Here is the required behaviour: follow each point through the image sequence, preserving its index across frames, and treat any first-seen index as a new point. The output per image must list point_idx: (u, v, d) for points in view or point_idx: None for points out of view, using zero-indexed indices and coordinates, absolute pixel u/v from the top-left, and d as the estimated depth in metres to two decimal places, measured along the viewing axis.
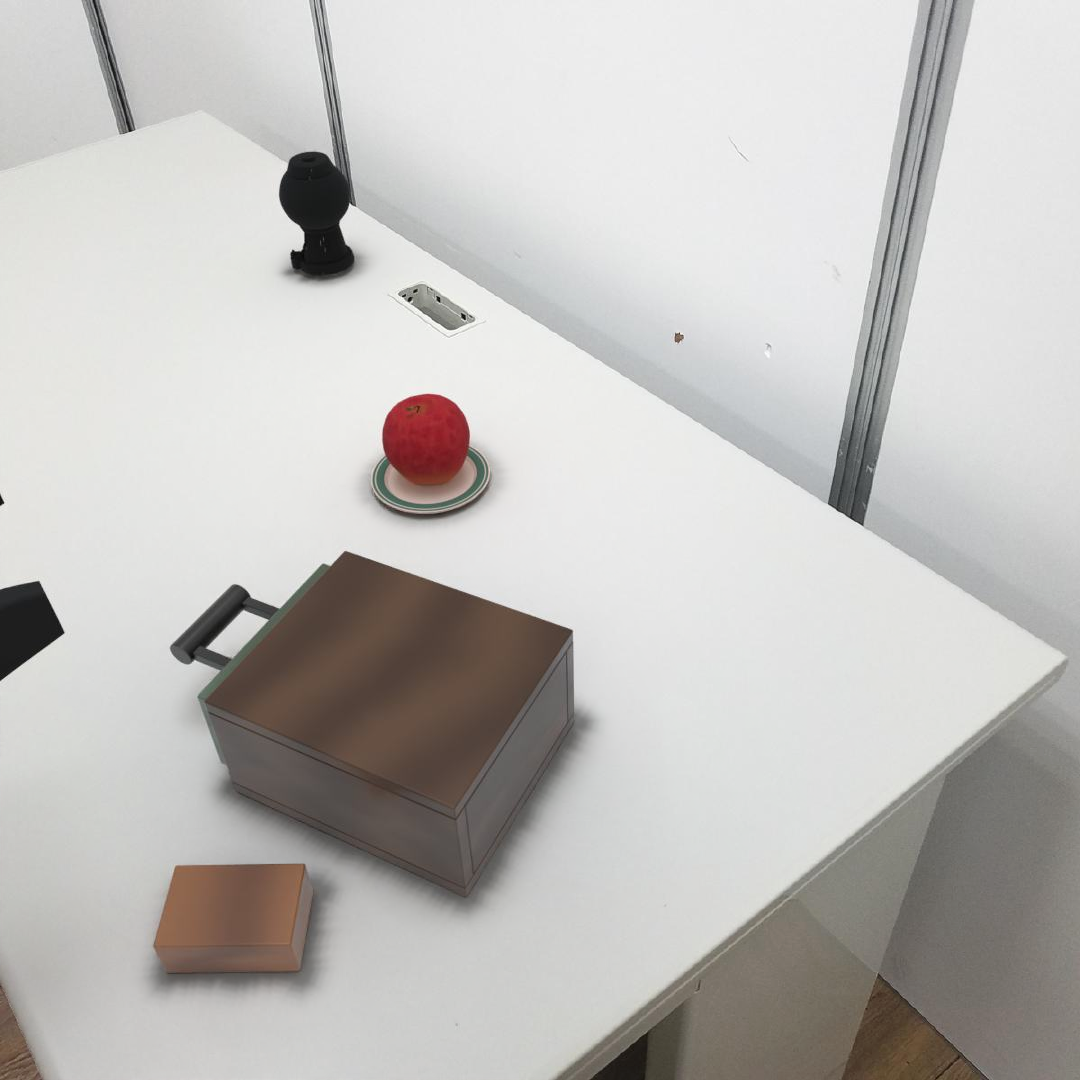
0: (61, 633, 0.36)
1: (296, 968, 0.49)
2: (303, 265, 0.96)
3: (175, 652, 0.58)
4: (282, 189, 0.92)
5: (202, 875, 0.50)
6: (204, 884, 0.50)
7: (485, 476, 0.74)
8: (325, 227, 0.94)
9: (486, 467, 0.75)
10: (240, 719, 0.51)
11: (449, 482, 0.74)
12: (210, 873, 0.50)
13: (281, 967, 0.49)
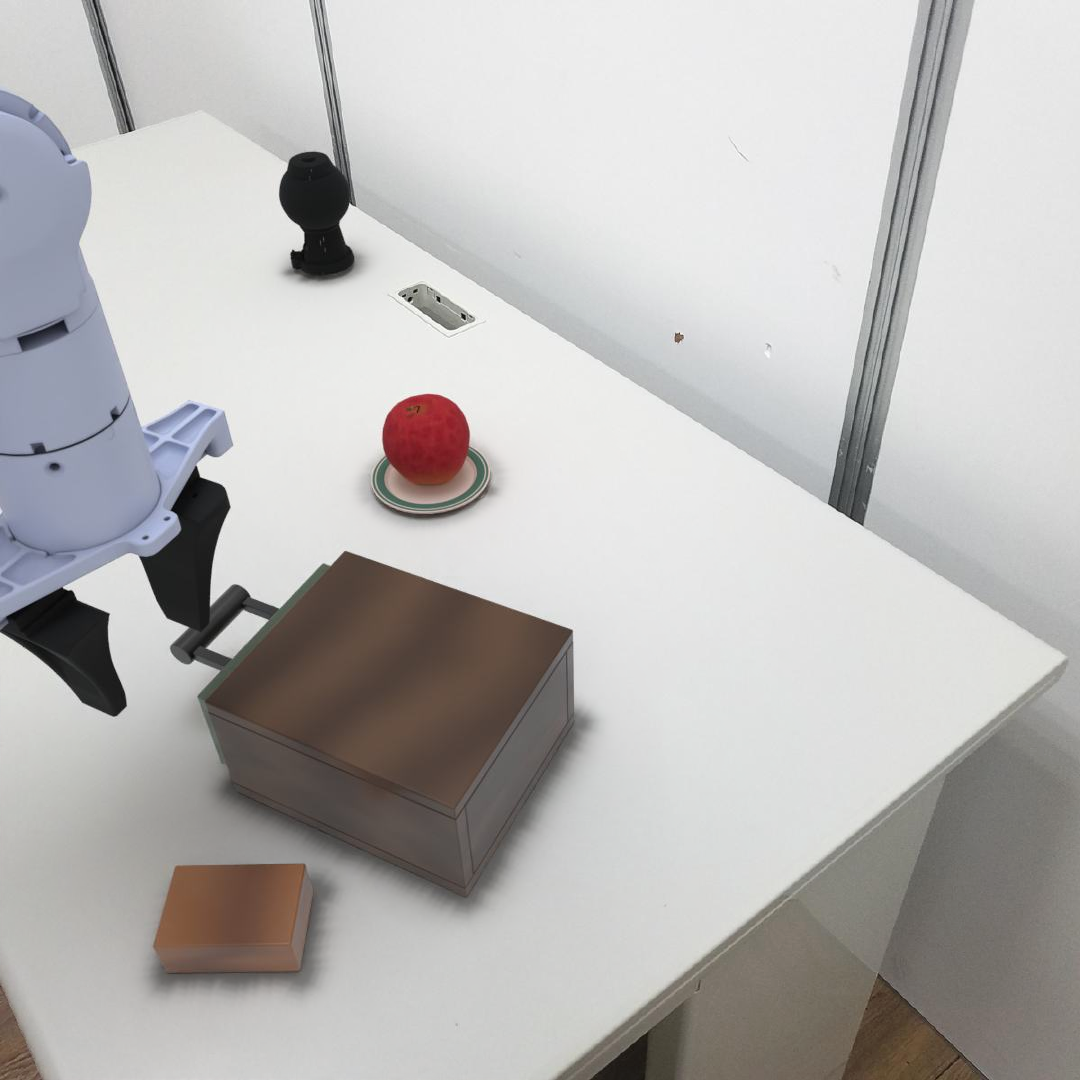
0: (82, 701, 0.48)
1: (296, 968, 0.49)
2: (303, 265, 0.96)
3: (175, 652, 0.58)
4: (282, 189, 0.92)
5: (202, 875, 0.50)
6: (204, 884, 0.50)
7: (485, 476, 0.74)
8: (325, 227, 0.94)
9: (486, 467, 0.75)
10: (240, 719, 0.51)
11: (449, 482, 0.74)
12: (210, 873, 0.50)
13: (281, 967, 0.49)
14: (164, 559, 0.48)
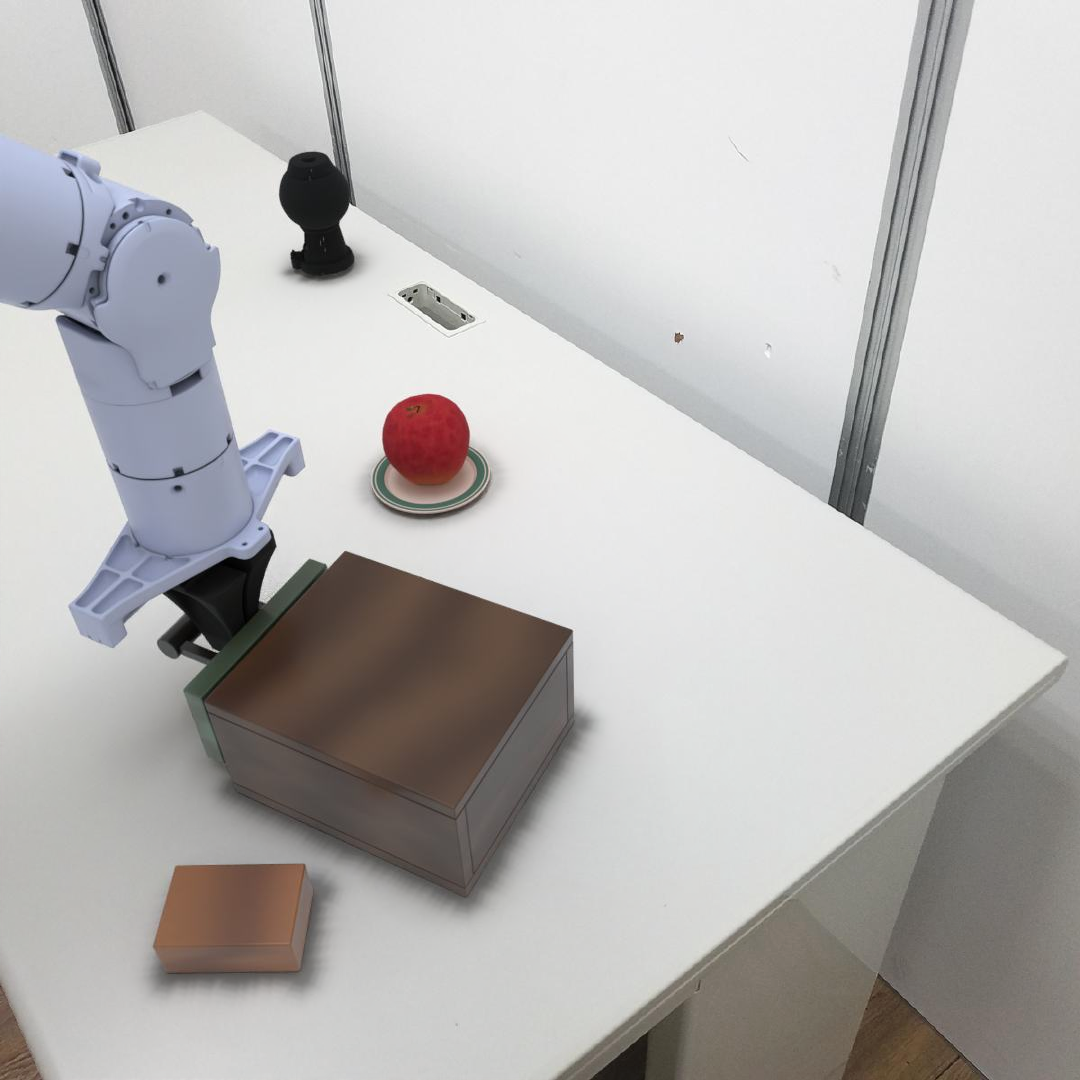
0: (212, 647, 0.59)
1: (296, 968, 0.49)
2: (303, 265, 0.96)
3: (162, 647, 0.58)
4: (282, 189, 0.92)
5: (202, 875, 0.50)
6: (204, 884, 0.50)
7: (485, 476, 0.74)
8: (325, 227, 0.94)
9: (486, 467, 0.75)
10: (240, 719, 0.51)
11: (449, 482, 0.74)
12: (210, 873, 0.50)
13: (281, 967, 0.49)
14: None
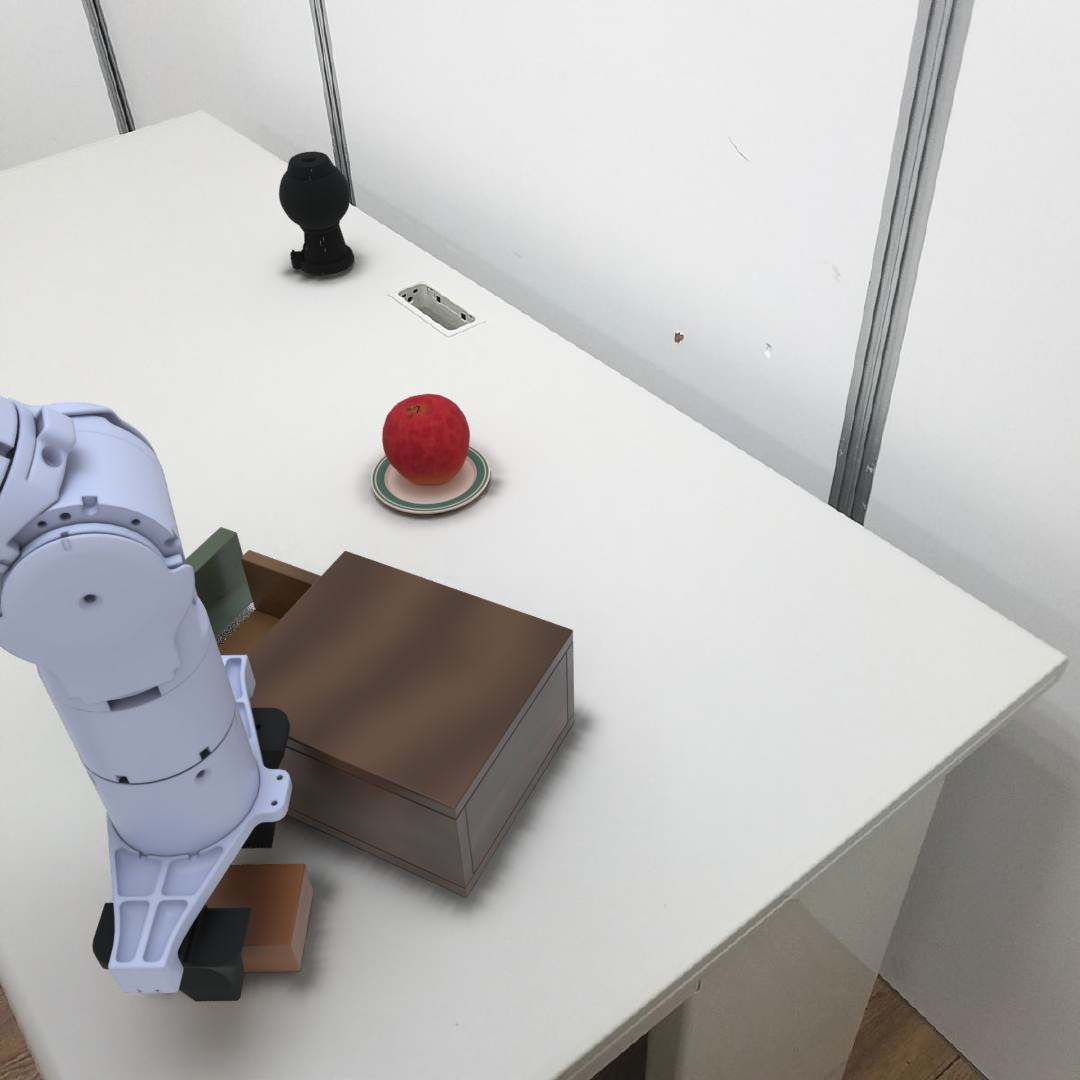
0: (195, 1000, 0.47)
1: (296, 968, 0.49)
2: (303, 265, 0.96)
3: None
4: (282, 189, 0.92)
5: None
6: None
7: (485, 476, 0.74)
8: (325, 227, 0.94)
9: (486, 467, 0.75)
10: None
11: (449, 482, 0.74)
12: None
13: (281, 967, 0.49)
14: None
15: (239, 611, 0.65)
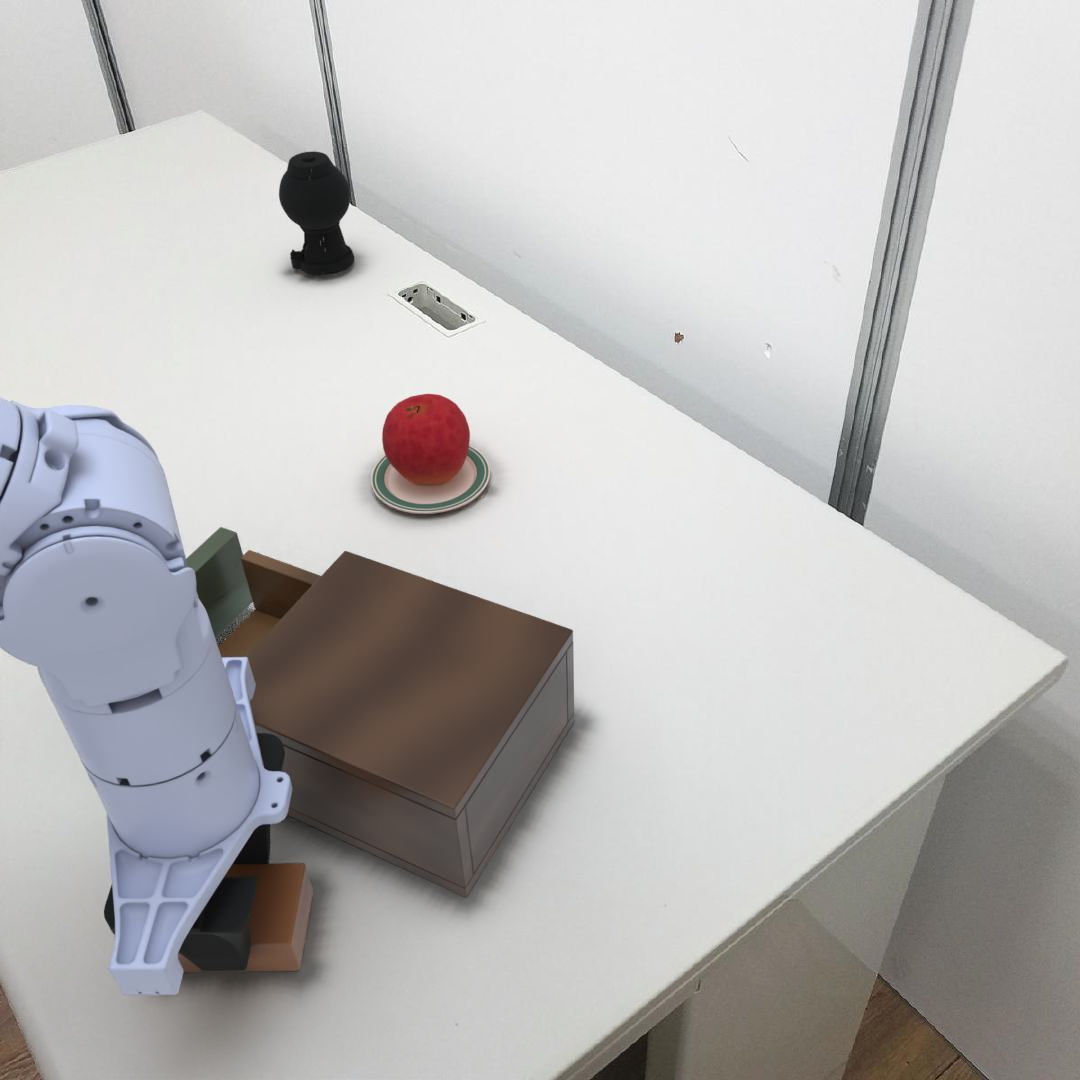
0: (203, 969, 0.48)
1: (296, 967, 0.49)
2: (303, 265, 0.96)
3: None
4: (282, 189, 0.92)
5: None
6: None
7: (485, 476, 0.74)
8: (325, 227, 0.94)
9: (486, 467, 0.75)
10: None
11: (449, 482, 0.74)
12: None
13: (281, 966, 0.49)
14: None
15: (239, 611, 0.65)
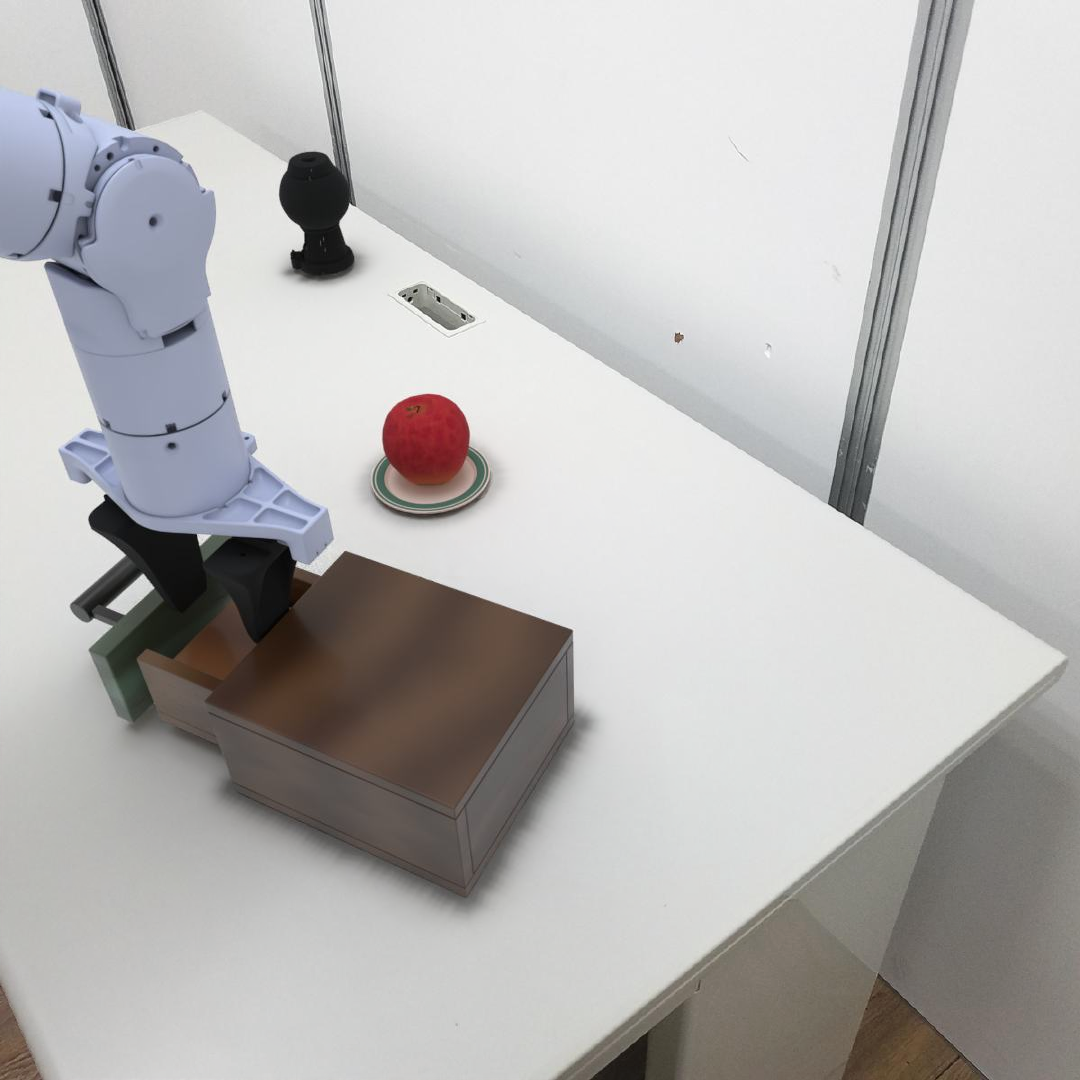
0: None
1: None
2: (303, 265, 0.96)
3: (75, 610, 0.60)
4: (282, 189, 0.92)
5: (196, 647, 0.58)
6: (205, 647, 0.58)
7: (485, 476, 0.74)
8: (325, 227, 0.94)
9: (486, 467, 0.75)
10: (240, 719, 0.51)
11: (449, 482, 0.74)
12: (198, 642, 0.58)
13: None
14: (172, 545, 0.56)
15: None
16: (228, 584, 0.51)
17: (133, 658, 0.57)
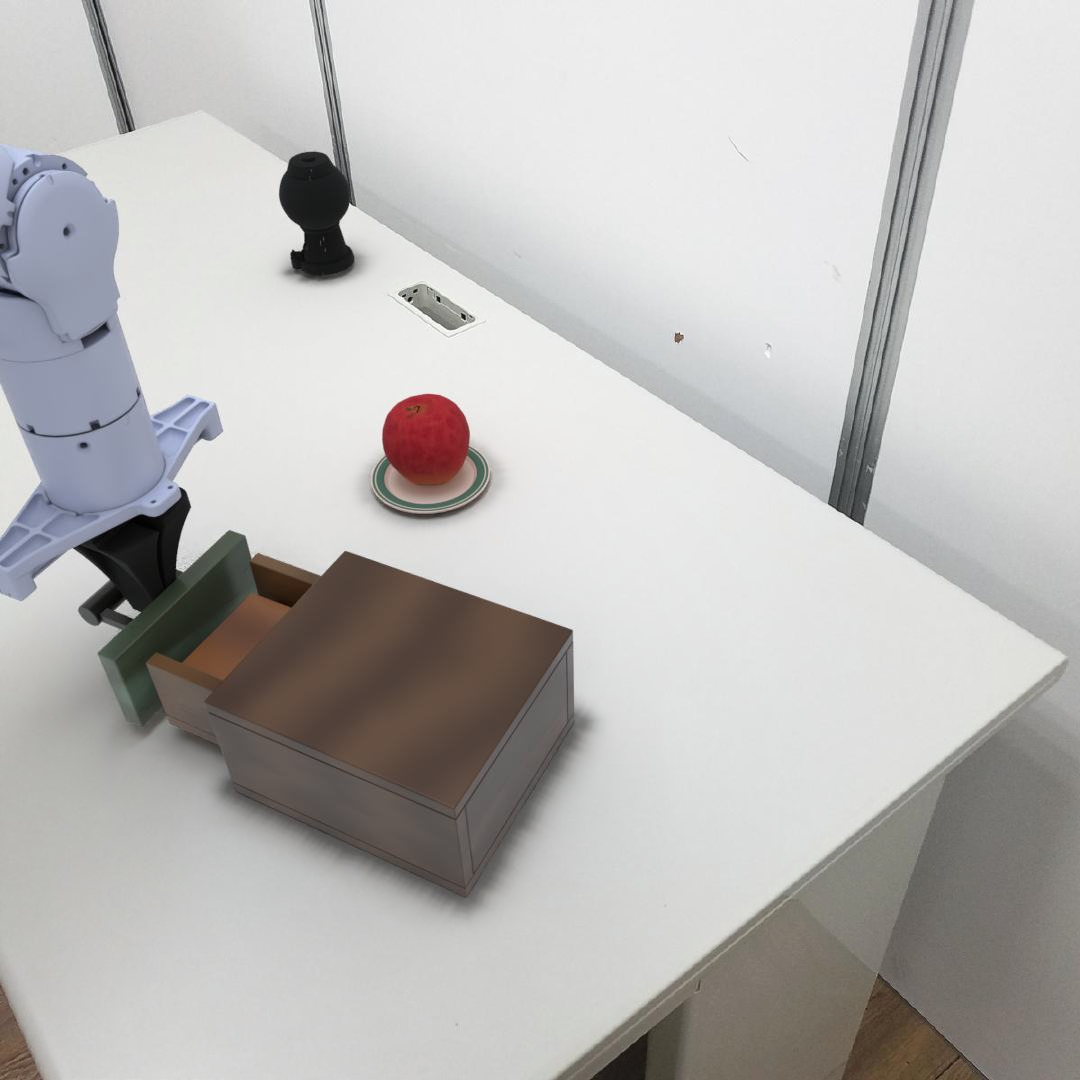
0: (133, 608, 0.61)
1: None
2: (303, 265, 0.96)
3: (83, 614, 0.60)
4: (282, 189, 0.92)
5: (204, 650, 0.58)
6: (214, 651, 0.58)
7: (485, 476, 0.74)
8: (325, 227, 0.94)
9: (486, 467, 0.75)
10: (240, 719, 0.51)
11: (449, 482, 0.74)
12: (207, 645, 0.58)
13: None
14: None
15: None
16: None
17: (142, 662, 0.57)
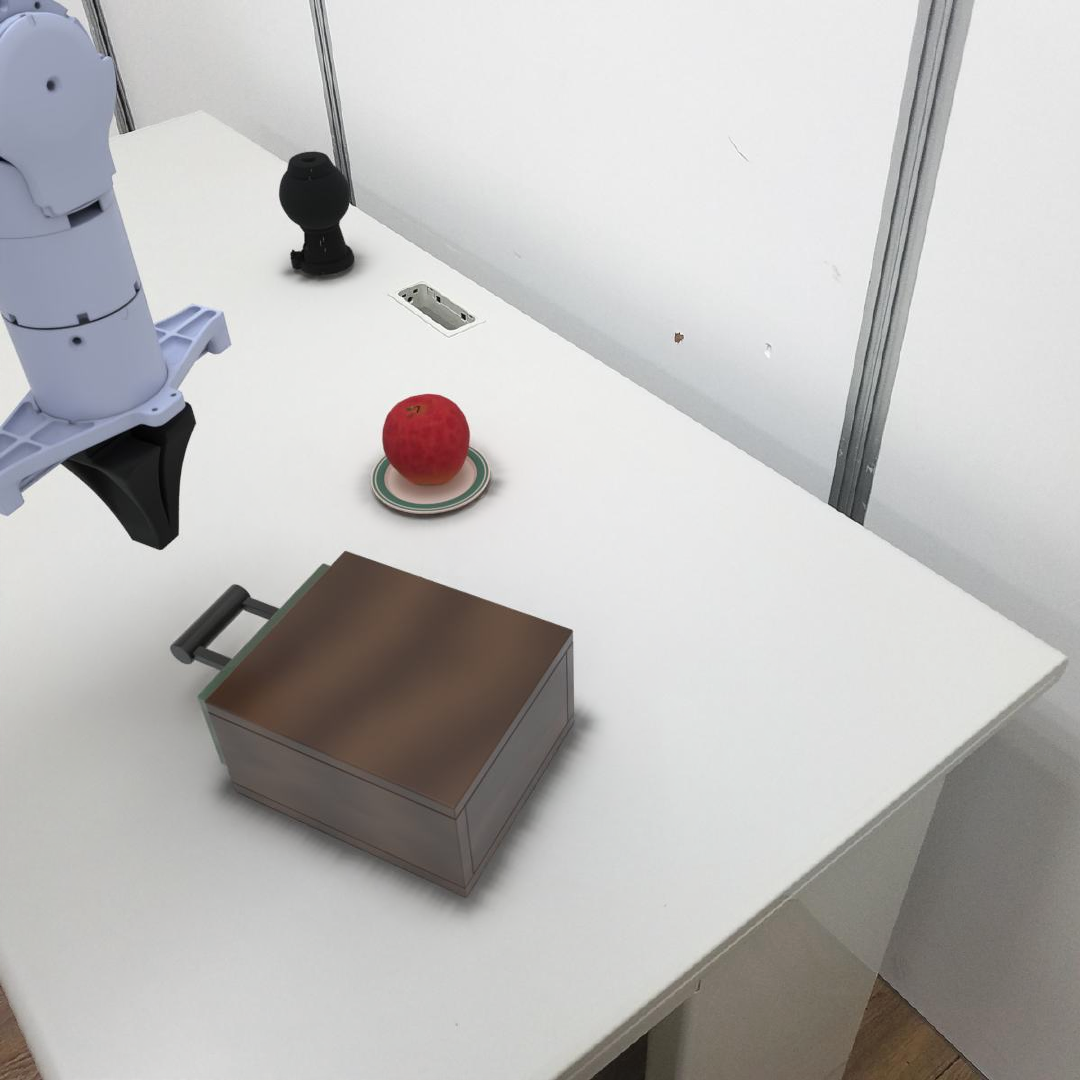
0: (132, 538, 0.55)
1: None
2: (303, 265, 0.96)
3: (175, 652, 0.58)
4: (282, 189, 0.92)
5: None
6: None
7: (485, 476, 0.74)
8: (325, 227, 0.94)
9: (486, 467, 0.75)
10: (240, 719, 0.51)
11: (449, 482, 0.74)
12: None
13: None
14: None
15: None
16: None
17: None
